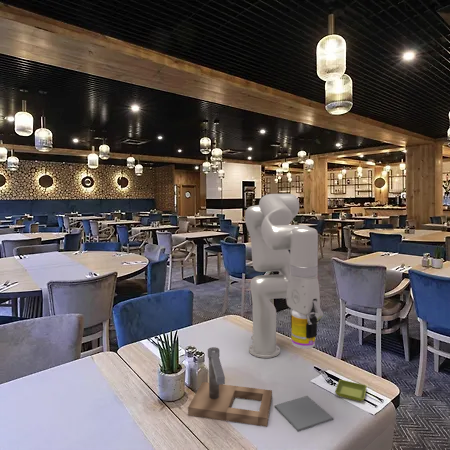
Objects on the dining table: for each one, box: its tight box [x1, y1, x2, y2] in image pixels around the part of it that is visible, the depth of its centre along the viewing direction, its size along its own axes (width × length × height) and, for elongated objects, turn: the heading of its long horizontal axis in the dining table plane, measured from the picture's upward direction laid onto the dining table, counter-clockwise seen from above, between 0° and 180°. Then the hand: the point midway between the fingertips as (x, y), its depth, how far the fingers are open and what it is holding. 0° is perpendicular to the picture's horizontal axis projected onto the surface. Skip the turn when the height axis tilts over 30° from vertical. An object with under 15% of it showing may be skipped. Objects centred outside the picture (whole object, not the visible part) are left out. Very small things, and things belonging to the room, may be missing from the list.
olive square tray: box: [334, 379, 368, 403], centre depth 110 cm, size 9×9×2 cm
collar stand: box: [187, 358, 273, 427], centre depth 104 cm, size 23×14×15 cm, turn 76°
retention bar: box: [207, 346, 226, 385], centre depth 97 cm, size 18×4×2 cm, turn 9°
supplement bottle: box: [290, 310, 316, 350], centre depth 98 cm, size 7×7×13 cm
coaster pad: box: [274, 395, 334, 432], centre depth 101 cm, size 12×12×1 cm
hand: (303, 332), depth 99 cm, fingers closed on supplement bottle, 6 cm apart
